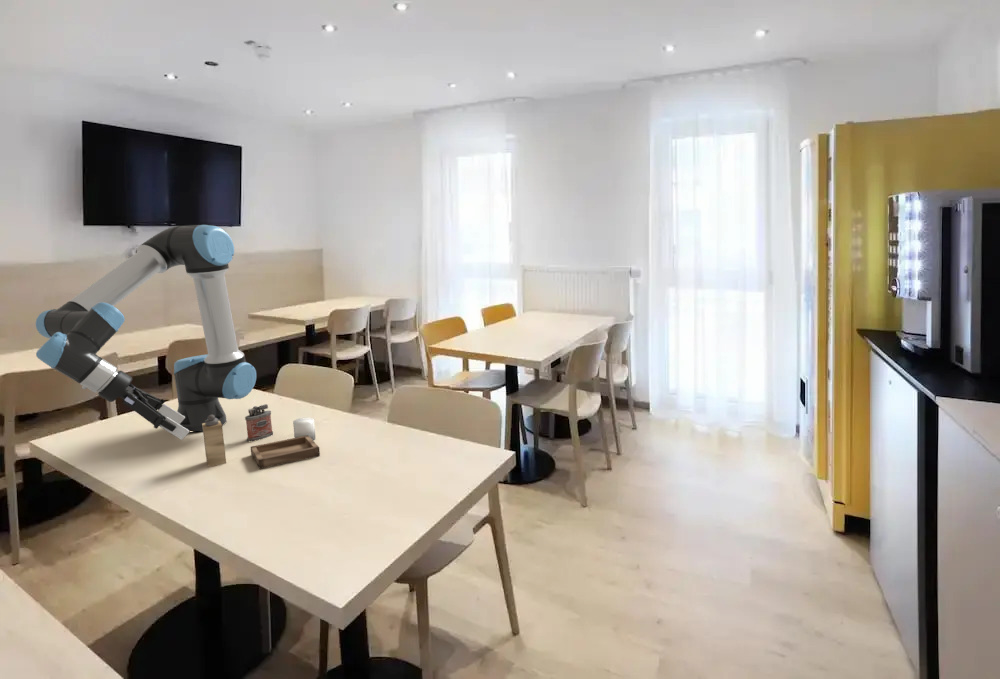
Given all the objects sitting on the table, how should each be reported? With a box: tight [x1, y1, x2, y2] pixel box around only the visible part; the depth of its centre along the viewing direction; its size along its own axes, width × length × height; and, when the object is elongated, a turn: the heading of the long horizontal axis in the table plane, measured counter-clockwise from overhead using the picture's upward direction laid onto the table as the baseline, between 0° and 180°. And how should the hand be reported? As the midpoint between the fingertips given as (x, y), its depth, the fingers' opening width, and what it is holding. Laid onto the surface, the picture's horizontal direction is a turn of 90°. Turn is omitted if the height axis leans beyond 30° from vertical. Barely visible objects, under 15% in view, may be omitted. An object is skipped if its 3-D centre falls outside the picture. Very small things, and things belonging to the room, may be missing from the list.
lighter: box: [244, 403, 274, 442], centre depth 176 cm, size 8×3×10 cm, turn 143°
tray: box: [250, 435, 321, 470], centre depth 162 cm, size 12×16×2 cm
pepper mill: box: [202, 415, 227, 468], centre depth 157 cm, size 4×4×14 cm
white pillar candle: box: [292, 417, 316, 441], centre depth 174 cm, size 6×6×6 cm
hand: (183, 428), depth 152 cm, fingers open, 13 cm apart
